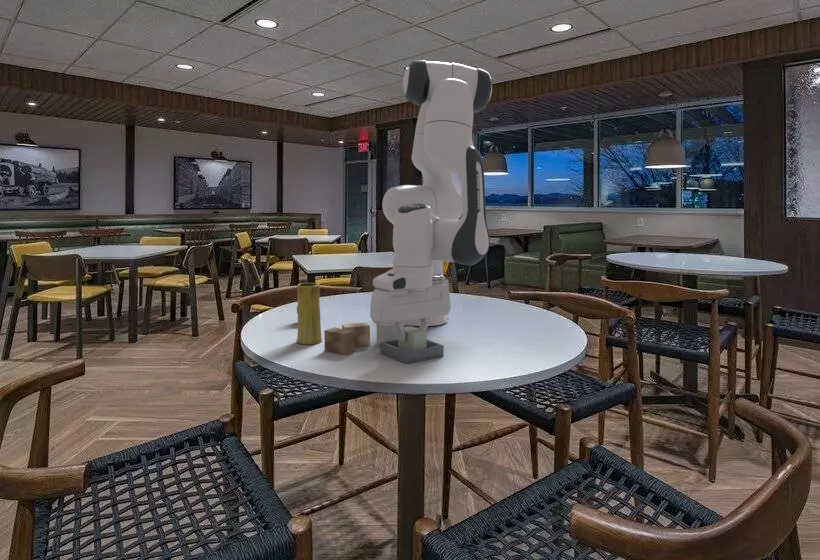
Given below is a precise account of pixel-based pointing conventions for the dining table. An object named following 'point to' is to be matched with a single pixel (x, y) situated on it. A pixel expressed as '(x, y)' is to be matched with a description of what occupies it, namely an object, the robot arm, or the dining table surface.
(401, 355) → the slate dish
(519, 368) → the dining table surface
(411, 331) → the block sage
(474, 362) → the dining table surface
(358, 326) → the block oak
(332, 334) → the block walnut
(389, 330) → the block grey
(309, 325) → the vase
